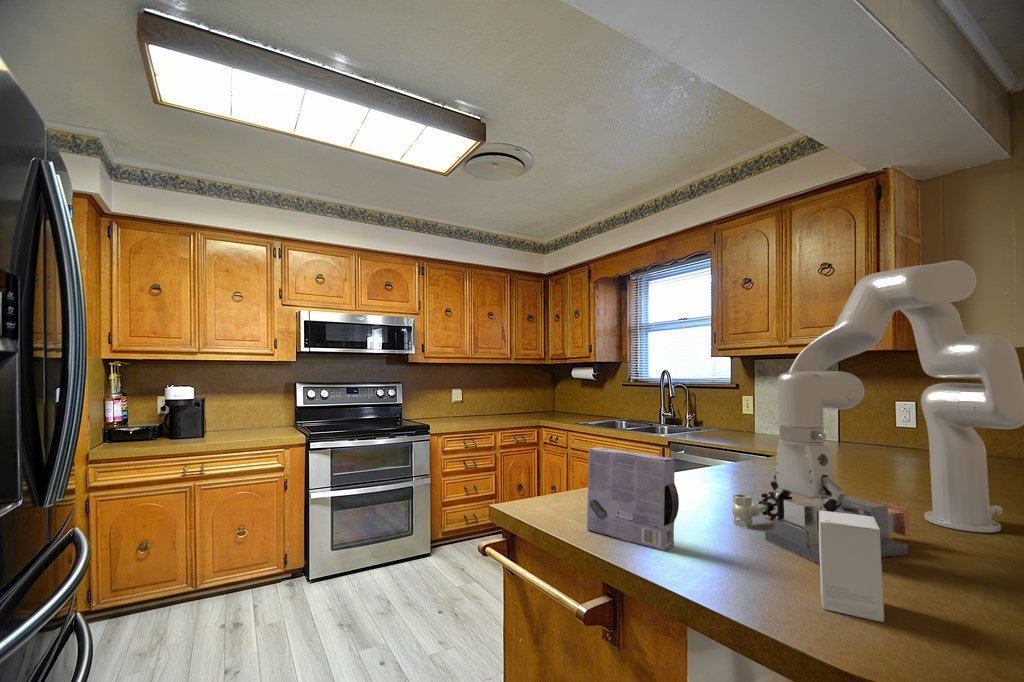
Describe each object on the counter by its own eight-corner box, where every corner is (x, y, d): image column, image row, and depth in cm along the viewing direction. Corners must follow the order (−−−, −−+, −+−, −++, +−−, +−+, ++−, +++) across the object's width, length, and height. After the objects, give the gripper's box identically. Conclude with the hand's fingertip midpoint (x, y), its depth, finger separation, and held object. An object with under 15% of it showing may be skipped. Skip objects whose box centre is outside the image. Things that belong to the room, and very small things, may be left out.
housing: (811, 533, 97) (809, 497, 97) (832, 542, 92) (831, 504, 92) (785, 535, 95) (783, 499, 96) (805, 544, 90) (804, 506, 91)
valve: (748, 531, 104) (787, 524, 109) (747, 500, 105) (786, 495, 109) (724, 523, 110) (762, 516, 115) (723, 493, 111) (761, 488, 115)
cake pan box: (681, 546, 95) (678, 456, 96) (669, 553, 92) (667, 459, 93) (598, 525, 108) (597, 446, 109) (585, 531, 105) (584, 448, 106)
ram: (880, 526, 101) (879, 500, 101) (909, 535, 95) (908, 508, 96) (825, 531, 98) (824, 505, 98) (852, 541, 92) (851, 513, 92)
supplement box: (885, 623, 66) (881, 529, 67) (821, 609, 70) (817, 520, 71) (879, 601, 72) (875, 515, 73) (820, 590, 76) (817, 508, 77)
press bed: (845, 532, 103) (843, 492, 104) (907, 554, 91) (905, 509, 91) (765, 539, 99) (764, 498, 99) (819, 564, 86) (817, 516, 87)
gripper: (857, 441, 87) (862, 538, 86) (783, 429, 104) (786, 510, 103) (822, 442, 85) (827, 541, 84) (753, 430, 102) (756, 513, 101)
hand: (804, 524), depth 94 cm, fingers open, 9 cm apart
